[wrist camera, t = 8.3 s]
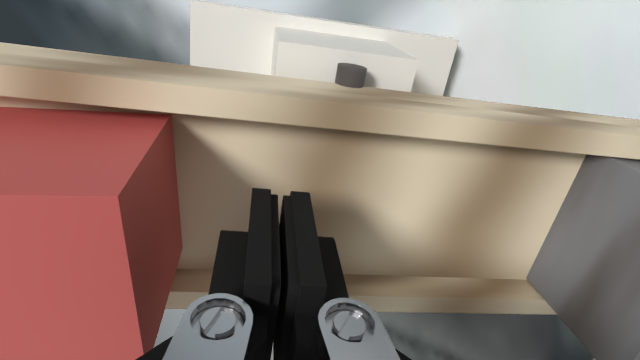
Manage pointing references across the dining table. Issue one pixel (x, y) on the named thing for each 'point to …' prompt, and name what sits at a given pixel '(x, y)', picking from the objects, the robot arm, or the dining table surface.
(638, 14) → the dining table surface
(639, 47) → the dining table surface
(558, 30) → the dining table surface
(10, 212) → the block
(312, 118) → the beam
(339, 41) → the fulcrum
